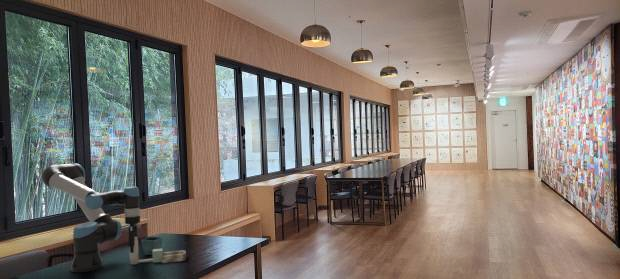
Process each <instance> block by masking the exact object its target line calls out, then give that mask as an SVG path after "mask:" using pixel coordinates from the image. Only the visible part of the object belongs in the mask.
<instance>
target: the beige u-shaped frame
mask: <svg viewBox="0 0 620 279" xmlns="http://www.w3.org/2000/svg"><path fill="white" fill-rule="evenodd" d="M185 261H187V250H186V249H183V250H173V251H165V252H164V251H163V256H162V262H161V263H162V264H167V263H168V264H169V263H175V262H185Z"/></svg>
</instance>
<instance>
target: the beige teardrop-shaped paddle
mask: <svg viewBox="0 0 620 279" xmlns="http://www.w3.org/2000/svg"><path fill="white" fill-rule="evenodd" d="M134 246H135V258H134V259H130V258H129V260H130V262H129V263H130V265H138V264H139V263H145V262H152V263H154V264H155V263H163V262H162V256H163V252H164V250H163V249H164V248H162V247H161V249H153V251H152V255H151V256H152V258H146V259H139V240H137V237H135V241H134Z"/></svg>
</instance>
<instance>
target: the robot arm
mask: <svg viewBox="0 0 620 279" xmlns="http://www.w3.org/2000/svg"><path fill="white" fill-rule="evenodd" d="M41 180H42V183H43V184H44V185H45V186H46V187H48V188H51V189H52V190H59V191H61V192H63V193H65V194H67V195H70V196H71V197H73V198H74V200H75V201H76V203H77V204H78V206H79V208H81V210H82V212H83V213H84V215H85V217H86V218H87V220H88V221H87V222H84V223H80V224H77V225H76V226H74V227H73V234H72V239H73V253H74V254H73V259H72V262H71V265H70V271H71V272H72V273H87V272H88V273H89V272H92V271H97V270H99V269H102V268H103V267H104V262H103V261H104V260H103V258H102V257H101V253H100V250H99V248H100V247H99V246H101V245H105V244H108V243H112V242H114V241H117V240H118V239H119V238H120V237H121V235H122V230H123V226H122V224H121V221H120V220H119V219H116V218H114V219H113V218H112V216H111V215H110V214H109V213H105V211H104V210H103V209H102V208H107V207H112V206H116V205H119V206H121V205H122V206H123V205H124V216H125V217H124V224H126V225H129V227H128V244H127V247H128V249H129V250H128V251H129V253H128V254H129V260H130V259H134V258H135V246H134V241H135V237H137V240H138V241H139V240H140V237H139V234H138V224H140V223H141V216H140V215H141V212H140V211H142V209H141V208H140V207H141V206H140V190H139V187H137V186H128V187H127V186H126V187H124V188H123V190H116V189H114V190H109V191H106V192H98V191H97V190H94V189H92V188H91V187H90V188H89V187H88V186H87V185H86V183H85V182H86V171H85V168H84V167H83V166H82V165H81V164H79V163H73V162H69V163H61V164H52V165H49V166H46V168H45V169H44V170H43V171H42V172H41Z"/></svg>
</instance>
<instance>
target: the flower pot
mask: <svg viewBox="0 0 620 279" xmlns="http://www.w3.org/2000/svg"><path fill="white" fill-rule="evenodd" d="M140 242H141V247H142V250H143V252H144V254H145V255H148V256H149V255H151V256H153V255H152V251H153V249H162V245H163V244H162V243H163V236H147V237H146V238H144V239H140Z"/></svg>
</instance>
